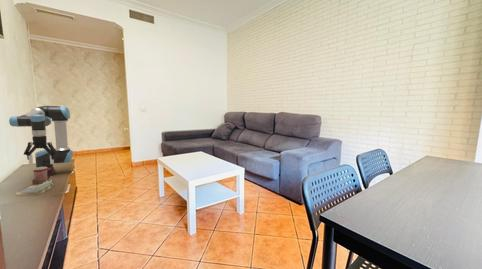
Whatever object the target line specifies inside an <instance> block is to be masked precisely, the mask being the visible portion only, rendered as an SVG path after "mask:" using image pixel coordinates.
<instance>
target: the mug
mask: <svg viewBox="0 0 482 269" xmlns="http://www.w3.org/2000/svg"><path fill="white" fill-rule="evenodd" d="M49 169H50V170H51V173H50V175H49V176H47V172H48V170H49ZM32 172H33V176H34V179H39V180H40V184H42V183H44V182H46V181H47V180H49V179H50V178H51V175H52V172H53V170H52V169H51V168H48V169H47V167H38V168H36V167H34V168H32ZM52 176H53V175H52Z"/></svg>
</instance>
